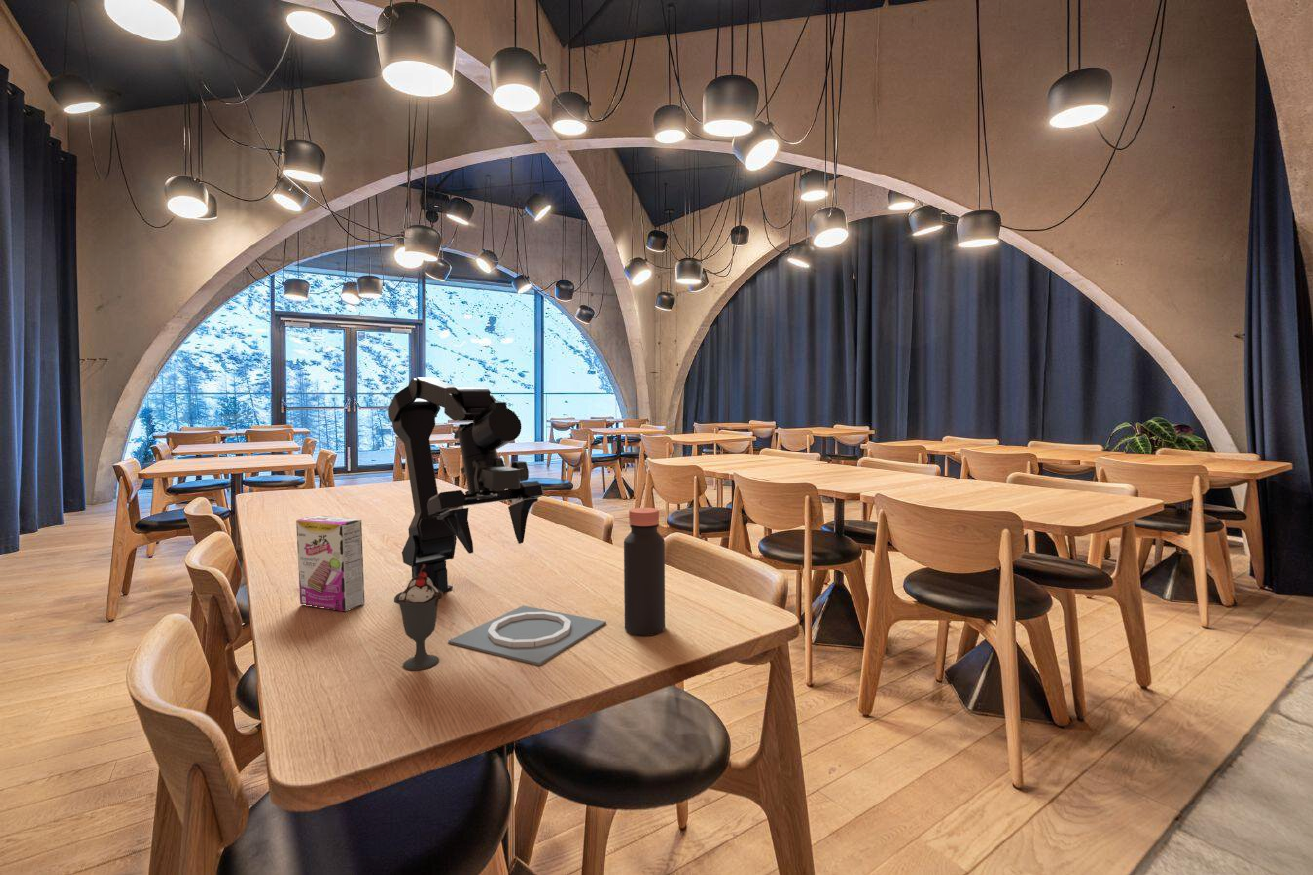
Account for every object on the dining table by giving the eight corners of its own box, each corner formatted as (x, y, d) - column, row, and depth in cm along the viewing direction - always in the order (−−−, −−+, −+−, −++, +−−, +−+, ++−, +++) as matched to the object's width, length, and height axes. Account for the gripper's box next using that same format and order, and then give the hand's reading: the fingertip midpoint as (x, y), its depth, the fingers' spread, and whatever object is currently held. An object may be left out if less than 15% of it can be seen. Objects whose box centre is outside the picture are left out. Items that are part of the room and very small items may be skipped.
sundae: (429, 675, 84) (426, 569, 83) (386, 671, 85) (382, 567, 84) (454, 655, 90) (451, 557, 89) (414, 651, 91) (411, 554, 90)
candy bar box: (297, 606, 112) (294, 519, 111) (320, 598, 116) (317, 514, 115) (344, 613, 108) (340, 523, 107) (366, 604, 113) (362, 518, 112)
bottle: (635, 639, 95) (634, 515, 94) (618, 625, 101) (616, 508, 100) (672, 632, 98) (672, 511, 97) (653, 618, 104) (653, 505, 103)
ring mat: (448, 643, 95) (448, 635, 94) (523, 607, 110) (523, 601, 110) (539, 665, 86) (539, 657, 86) (606, 623, 102) (606, 616, 102)
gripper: (446, 448, 90) (465, 551, 87) (551, 441, 103) (569, 531, 100) (418, 466, 98) (434, 561, 95) (519, 458, 111) (535, 541, 108)
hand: (496, 548), depth 100 cm, fingers open, 9 cm apart
